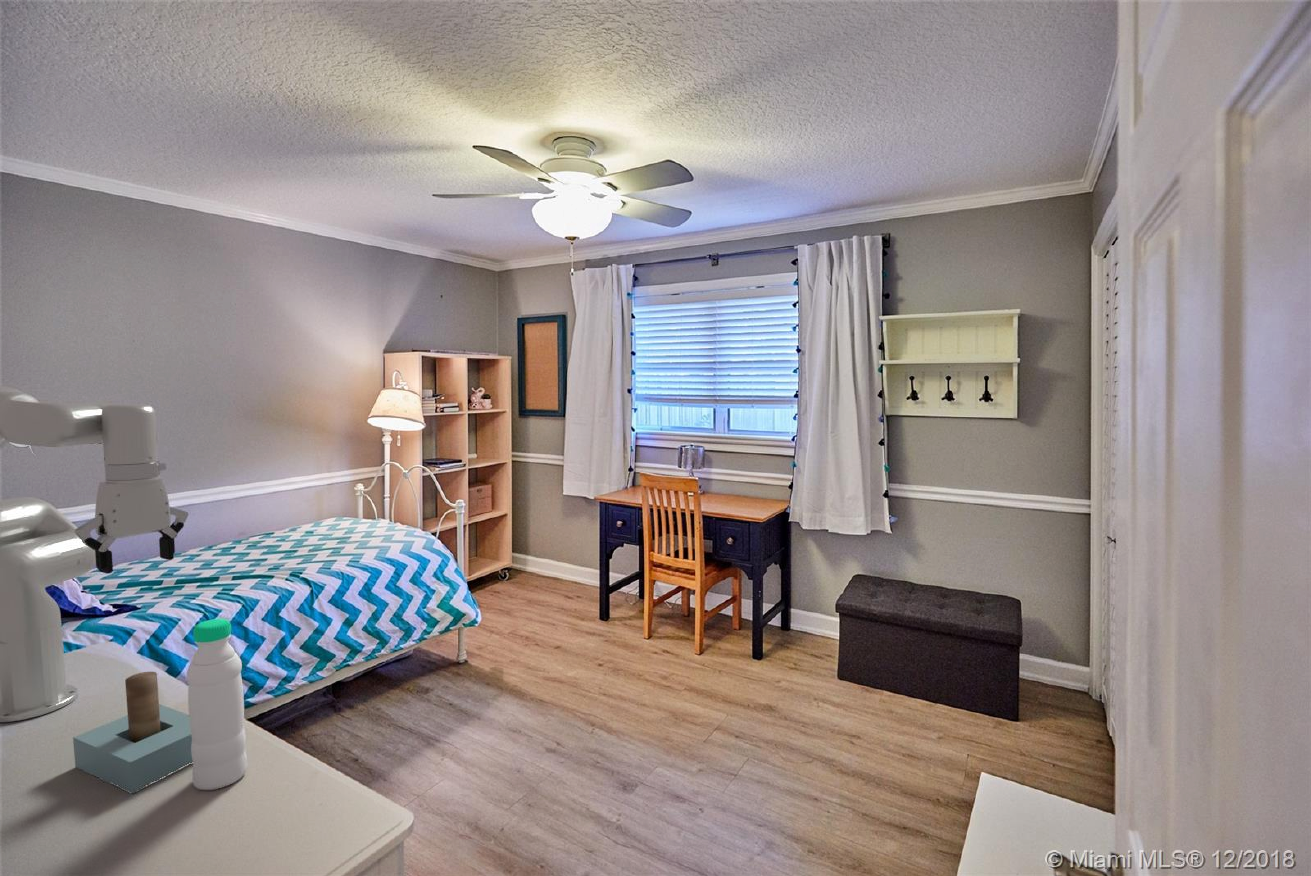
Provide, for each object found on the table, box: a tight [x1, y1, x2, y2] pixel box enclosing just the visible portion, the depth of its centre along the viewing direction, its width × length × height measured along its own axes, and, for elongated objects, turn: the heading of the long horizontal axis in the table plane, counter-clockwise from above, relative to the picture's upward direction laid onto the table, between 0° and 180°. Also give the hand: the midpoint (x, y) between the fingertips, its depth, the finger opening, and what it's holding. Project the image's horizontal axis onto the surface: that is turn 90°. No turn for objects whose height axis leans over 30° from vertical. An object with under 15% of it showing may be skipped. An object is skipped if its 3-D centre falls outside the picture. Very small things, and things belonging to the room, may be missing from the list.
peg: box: [124, 671, 161, 743], centre depth 105 cm, size 4×4×14 cm
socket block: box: [72, 703, 193, 794], centre depth 105 cm, size 16×12×5 cm
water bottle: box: [186, 618, 248, 791], centre depth 99 cm, size 7×7×25 cm
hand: (137, 565), depth 118 cm, fingers open, 9 cm apart
